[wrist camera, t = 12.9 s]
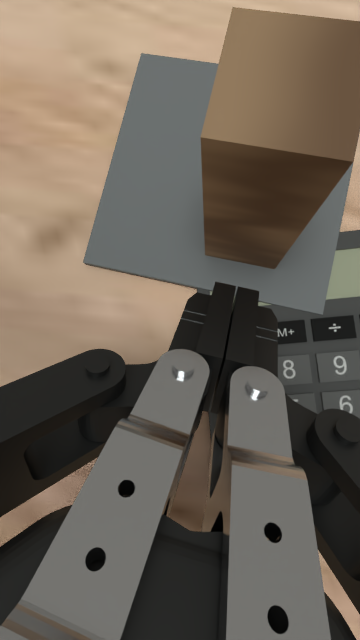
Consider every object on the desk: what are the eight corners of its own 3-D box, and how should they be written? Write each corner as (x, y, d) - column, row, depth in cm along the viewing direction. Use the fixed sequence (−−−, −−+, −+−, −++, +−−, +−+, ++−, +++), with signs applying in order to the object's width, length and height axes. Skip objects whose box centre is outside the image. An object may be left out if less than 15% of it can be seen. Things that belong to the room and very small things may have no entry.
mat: (85, 264, 20) (83, 262, 19) (142, 59, 21) (141, 53, 21) (320, 315, 18) (322, 314, 18) (365, 89, 19) (368, 84, 19)
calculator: (219, 525, 17) (193, 247, 19) (218, 516, 18) (194, 252, 20) (457, 514, 16) (404, 223, 18) (444, 506, 17) (395, 230, 19)
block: (204, 255, 19) (200, 137, 9) (220, 190, 19) (232, 7, 9) (274, 269, 18) (353, 161, 8) (288, 203, 18) (380, 23, 9)
